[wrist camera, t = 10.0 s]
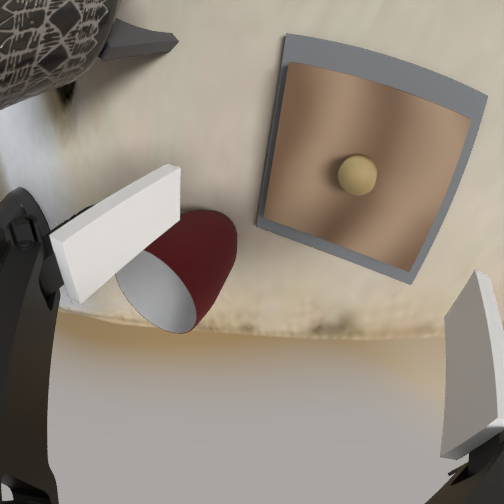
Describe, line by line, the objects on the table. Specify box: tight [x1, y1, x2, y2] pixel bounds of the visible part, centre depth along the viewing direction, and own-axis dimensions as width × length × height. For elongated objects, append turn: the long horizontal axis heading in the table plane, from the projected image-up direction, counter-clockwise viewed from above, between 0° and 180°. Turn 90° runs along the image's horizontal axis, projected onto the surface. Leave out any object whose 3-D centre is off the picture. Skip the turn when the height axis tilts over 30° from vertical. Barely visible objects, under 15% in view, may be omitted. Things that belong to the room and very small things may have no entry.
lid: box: [263, 62, 471, 272], centre depth 19 cm, size 12×12×3 cm
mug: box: [115, 210, 237, 334], centre depth 27 cm, size 10×8×10 cm
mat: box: [256, 33, 488, 285], centre depth 21 cm, size 14×16×1 cm
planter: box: [0, 0, 179, 110], centre depth 14 cm, size 13×13×18 cm
